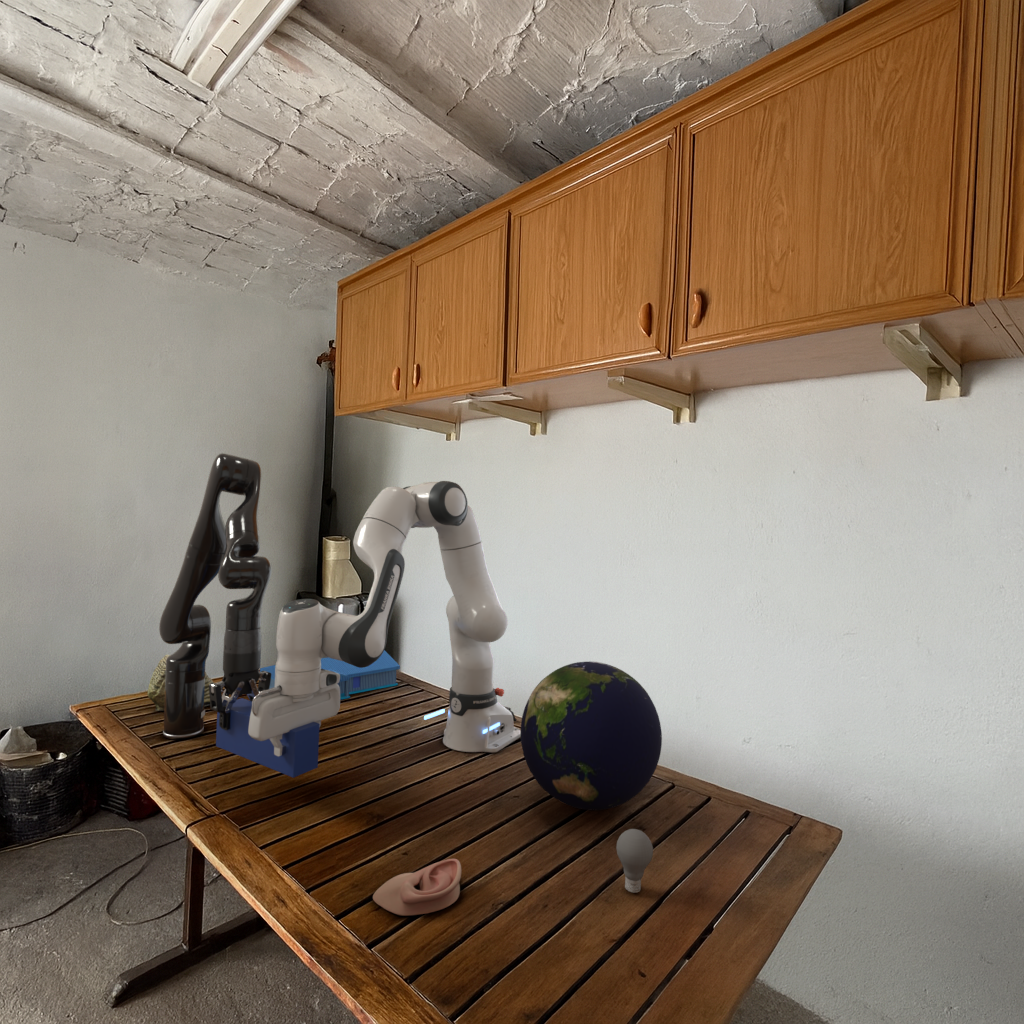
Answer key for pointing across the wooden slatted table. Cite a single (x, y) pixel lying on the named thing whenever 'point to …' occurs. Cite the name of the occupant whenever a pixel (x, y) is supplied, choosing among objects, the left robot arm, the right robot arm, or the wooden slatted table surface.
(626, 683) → the globe
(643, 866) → the light bulb
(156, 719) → the wooden slatted table surface
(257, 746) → the box
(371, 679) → the model building
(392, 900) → the anatomical model
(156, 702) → the fossil
